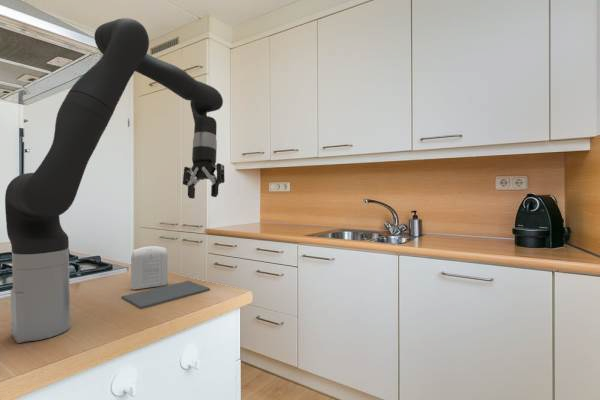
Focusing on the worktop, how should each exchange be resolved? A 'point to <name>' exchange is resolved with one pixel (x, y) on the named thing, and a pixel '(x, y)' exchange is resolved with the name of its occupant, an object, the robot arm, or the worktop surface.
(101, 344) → the worktop surface
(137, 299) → the mat
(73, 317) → the worktop surface
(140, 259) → the photo printer
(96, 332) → the worktop surface
